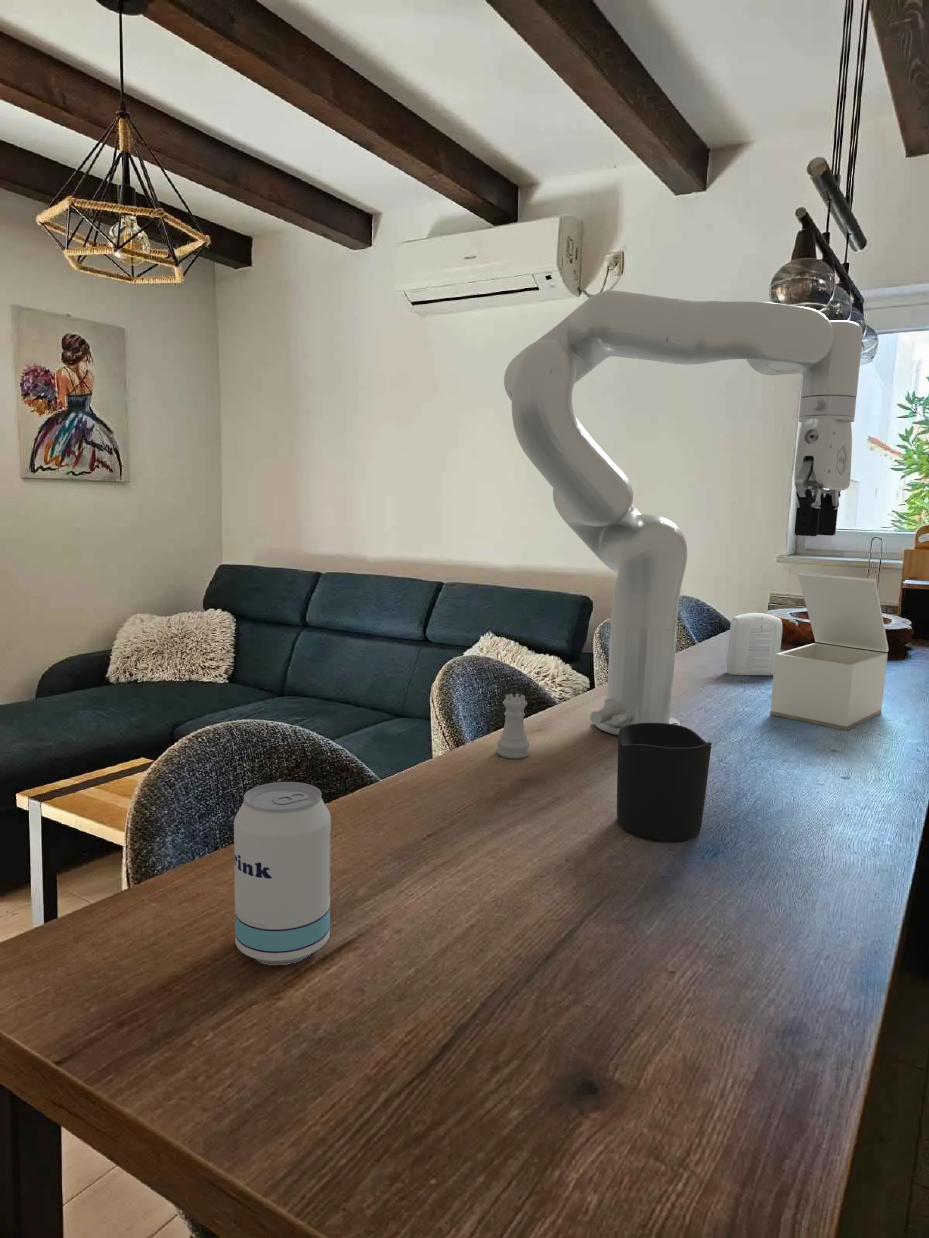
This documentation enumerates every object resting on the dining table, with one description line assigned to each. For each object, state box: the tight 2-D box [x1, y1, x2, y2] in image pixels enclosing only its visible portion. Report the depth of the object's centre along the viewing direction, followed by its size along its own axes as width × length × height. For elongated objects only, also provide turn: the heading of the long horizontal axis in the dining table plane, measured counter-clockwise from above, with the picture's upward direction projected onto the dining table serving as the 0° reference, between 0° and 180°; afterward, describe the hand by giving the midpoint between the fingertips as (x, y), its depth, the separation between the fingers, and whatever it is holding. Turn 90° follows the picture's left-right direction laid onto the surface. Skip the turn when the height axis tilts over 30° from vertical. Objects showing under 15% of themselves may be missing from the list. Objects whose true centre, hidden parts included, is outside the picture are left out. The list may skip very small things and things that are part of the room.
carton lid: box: [797, 572, 889, 653], centre depth 137 cm, size 16×12×1 cm
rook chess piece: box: [495, 693, 531, 760], centre depth 110 cm, size 4×4×8 cm
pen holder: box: [616, 723, 713, 843], centre depth 87 cm, size 9×9×10 cm
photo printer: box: [726, 612, 784, 677], centre depth 166 cm, size 10×4×12 cm, turn 98°
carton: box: [770, 642, 889, 731], centre depth 137 cm, size 16×12×10 cm
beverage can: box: [233, 781, 332, 965], centre depth 62 cm, size 7×7×12 cm
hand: (815, 534), depth 124 cm, fingers open, 6 cm apart
